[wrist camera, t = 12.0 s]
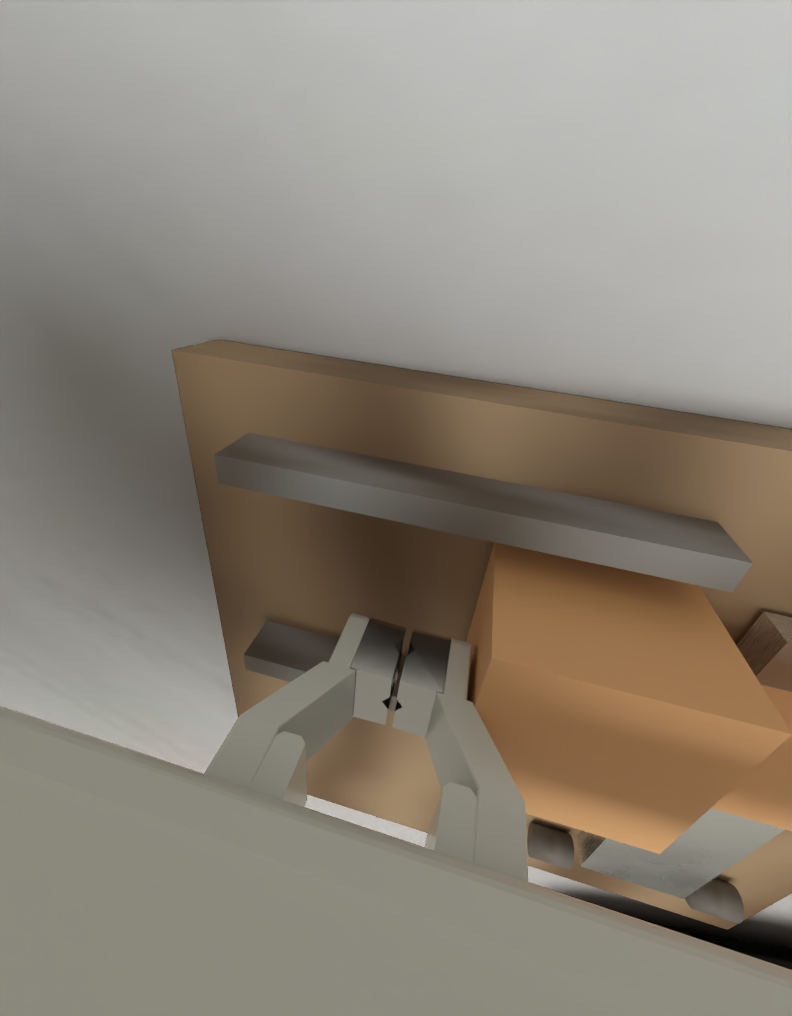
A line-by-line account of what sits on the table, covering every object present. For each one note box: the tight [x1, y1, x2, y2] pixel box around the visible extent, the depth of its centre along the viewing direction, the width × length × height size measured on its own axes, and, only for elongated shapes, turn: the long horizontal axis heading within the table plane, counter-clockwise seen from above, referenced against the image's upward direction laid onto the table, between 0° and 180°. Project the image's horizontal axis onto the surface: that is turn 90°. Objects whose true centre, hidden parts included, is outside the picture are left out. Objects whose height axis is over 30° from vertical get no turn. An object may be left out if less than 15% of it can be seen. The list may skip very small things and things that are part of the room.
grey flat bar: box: [577, 612, 792, 899], centre depth 13 cm, size 4×14×1 cm, turn 174°
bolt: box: [466, 542, 792, 854], centre depth 10 cm, size 12×5×4 cm, turn 84°
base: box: [172, 340, 792, 930], centre depth 15 cm, size 24×22×4 cm
